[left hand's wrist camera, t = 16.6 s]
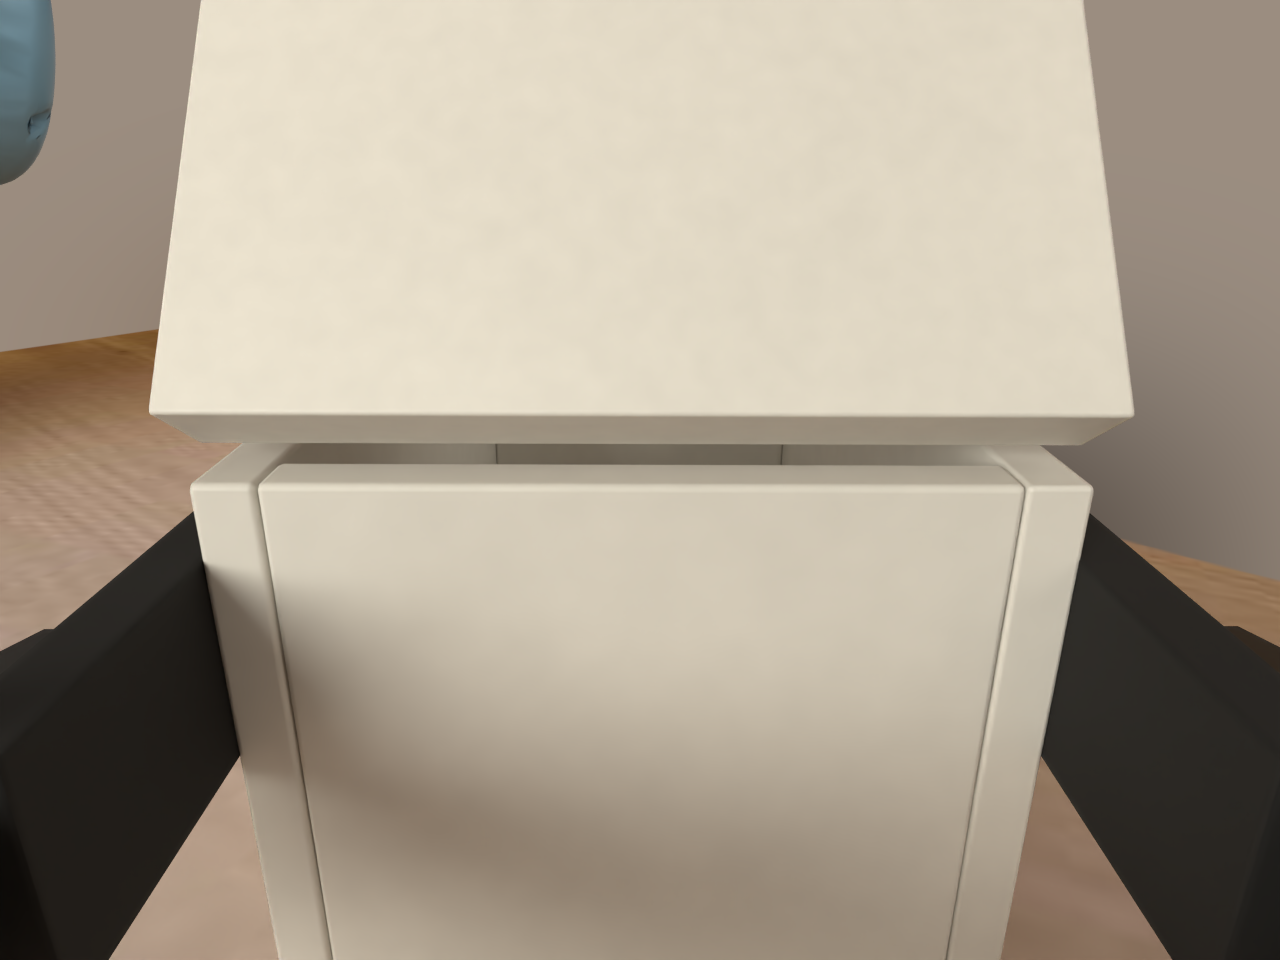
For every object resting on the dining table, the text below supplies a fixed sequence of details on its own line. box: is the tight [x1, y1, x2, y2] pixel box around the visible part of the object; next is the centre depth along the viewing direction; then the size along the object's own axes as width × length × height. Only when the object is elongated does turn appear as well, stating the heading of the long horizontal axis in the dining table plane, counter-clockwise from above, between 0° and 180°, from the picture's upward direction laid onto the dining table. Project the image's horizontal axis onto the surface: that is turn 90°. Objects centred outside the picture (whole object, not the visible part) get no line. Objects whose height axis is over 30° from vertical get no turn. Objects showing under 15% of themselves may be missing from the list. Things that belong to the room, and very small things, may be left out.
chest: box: [190, 443, 1093, 960], centre depth 19 cm, size 17×10×9 cm, turn 0°
